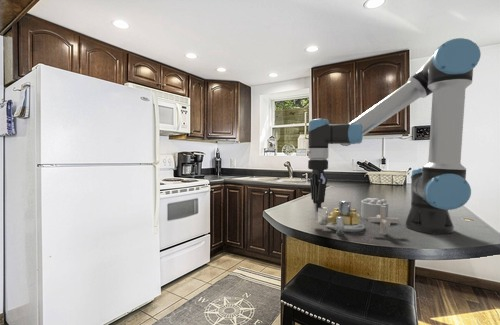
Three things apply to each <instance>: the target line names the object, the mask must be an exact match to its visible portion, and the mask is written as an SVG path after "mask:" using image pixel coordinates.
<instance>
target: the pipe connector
mask: <svg viewBox="0 0 500 325" xmlns="http://www.w3.org/2000/svg"><path fill="white" fill-rule="evenodd" d="M366 221H367V222H368V223H379V234H380V235H381V236H386V235H387V232H386V230H387V229H386V228H387V227H390V226H391V224H400V218H398V217H388V218H386V206H380V215H377V216H376V217H368V218H367V219H366Z"/></svg>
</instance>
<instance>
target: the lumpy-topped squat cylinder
mask: <svg viewBox="0 0 500 325" xmlns="http://www.w3.org/2000/svg"><path fill="white" fill-rule="evenodd" d="M360 201H361V202H360V203H361V204H360V218H362V219H364V220H367V218H368V217H376V216H377V215H380V206H386V218H389V203H388V202H387V200H386V199H383V198H382V199H379V198H377V197H376V198H375V197H374V198H373V197H366V198H364V199H362V200H360Z"/></svg>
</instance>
